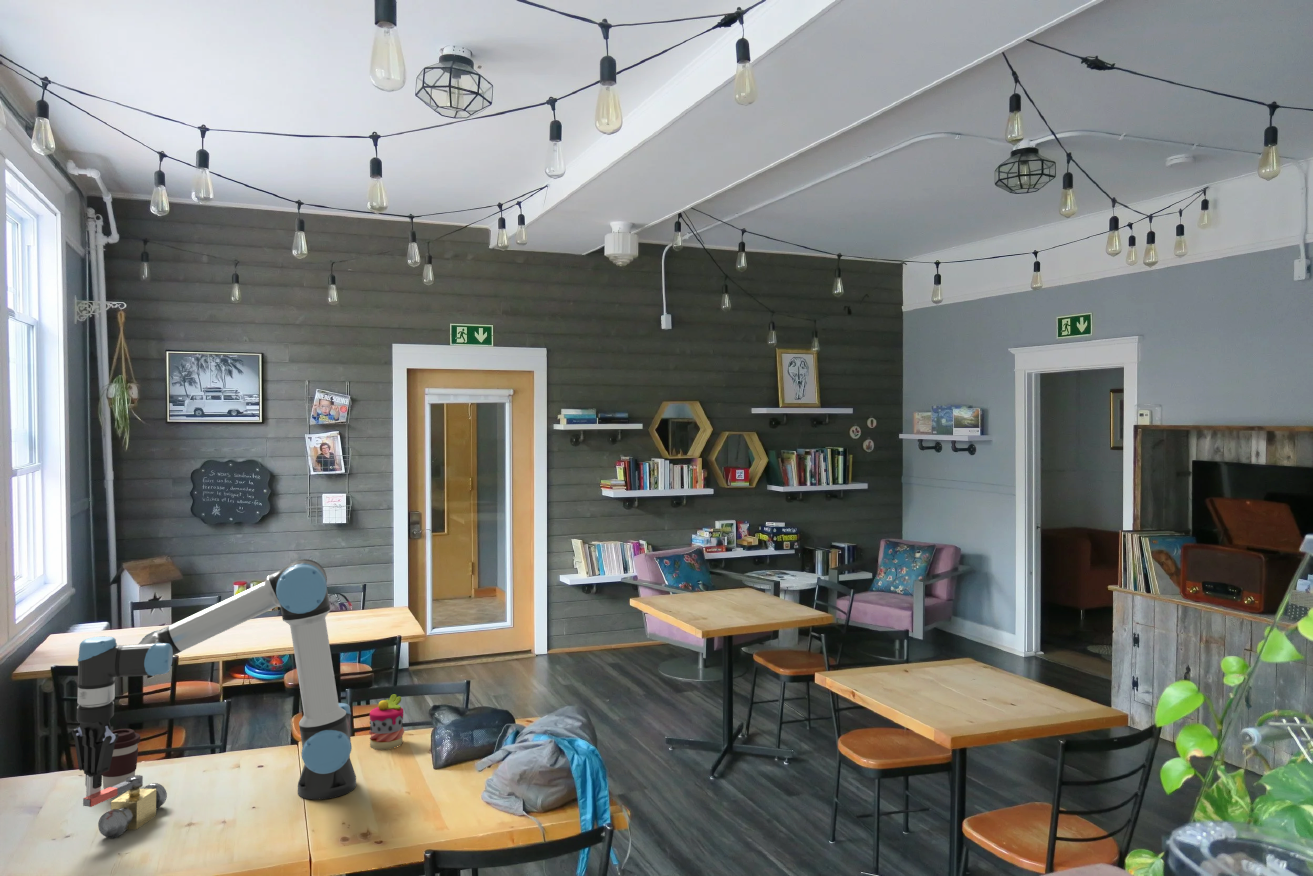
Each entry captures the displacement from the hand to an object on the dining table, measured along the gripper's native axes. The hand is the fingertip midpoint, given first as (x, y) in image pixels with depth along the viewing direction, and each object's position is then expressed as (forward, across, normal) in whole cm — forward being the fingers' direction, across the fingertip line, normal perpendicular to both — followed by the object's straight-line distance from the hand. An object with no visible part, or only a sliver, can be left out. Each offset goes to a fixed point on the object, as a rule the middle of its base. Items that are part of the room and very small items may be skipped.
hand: (93, 800), depth 205 cm
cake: (+9, +24, +79) cm, 83 cm away
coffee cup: (+10, -23, +24) cm, 35 cm away
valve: (+9, +1, +10) cm, 13 cm away
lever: (0, +2, +4) cm, 4 cm away
